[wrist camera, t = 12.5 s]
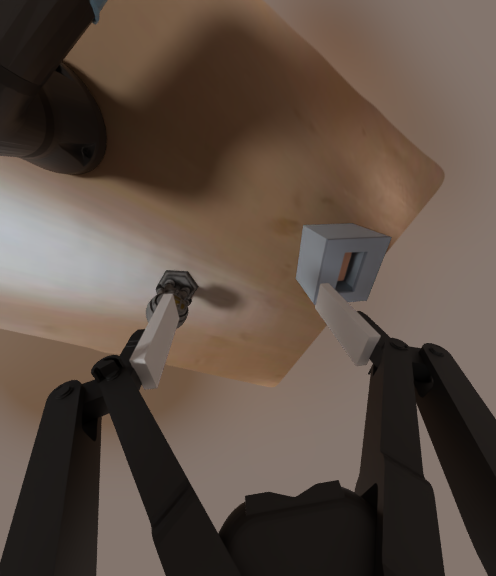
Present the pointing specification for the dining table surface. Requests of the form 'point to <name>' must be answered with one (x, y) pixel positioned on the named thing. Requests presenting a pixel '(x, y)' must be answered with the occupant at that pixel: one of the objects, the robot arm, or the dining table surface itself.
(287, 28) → the dining table surface
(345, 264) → the peach rectangular block
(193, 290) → the figurine
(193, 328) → the dining table surface
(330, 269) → the coin box
